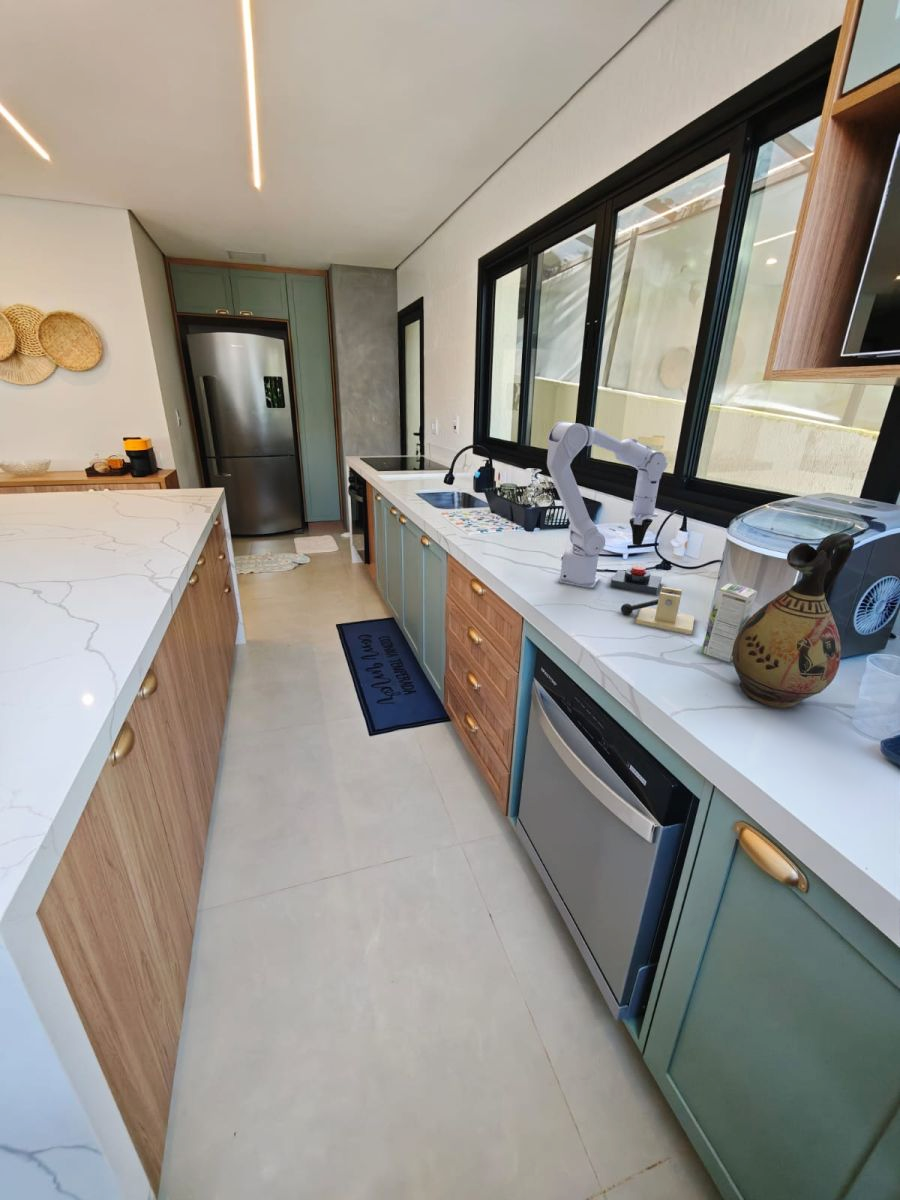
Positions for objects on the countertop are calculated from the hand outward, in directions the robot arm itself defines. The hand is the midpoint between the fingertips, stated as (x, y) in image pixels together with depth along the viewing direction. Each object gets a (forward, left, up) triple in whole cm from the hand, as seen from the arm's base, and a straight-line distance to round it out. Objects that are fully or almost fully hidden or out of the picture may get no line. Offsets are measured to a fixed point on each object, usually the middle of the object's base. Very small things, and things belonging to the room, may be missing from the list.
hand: (637, 544), depth 142 cm
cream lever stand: (+12, -27, -10) cm, 31 cm away
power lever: (+8, -27, -8) cm, 29 cm away
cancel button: (+2, -5, -7) cm, 9 cm away
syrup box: (+24, -38, -11) cm, 46 cm away
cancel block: (+2, -5, -10) cm, 12 cm away
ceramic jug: (+33, -50, -11) cm, 61 cm away
